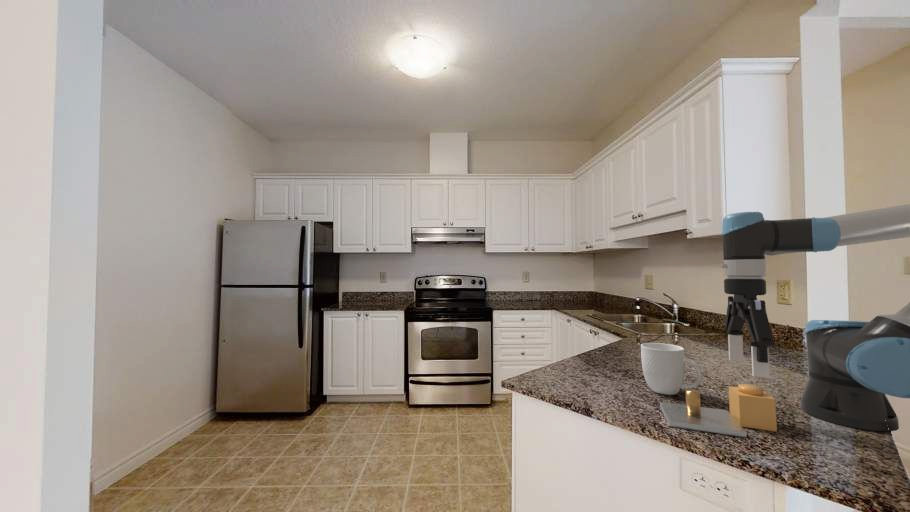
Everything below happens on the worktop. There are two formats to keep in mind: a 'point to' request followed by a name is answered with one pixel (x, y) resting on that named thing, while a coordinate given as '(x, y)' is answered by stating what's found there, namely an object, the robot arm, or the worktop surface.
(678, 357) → the mug
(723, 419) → the plate with brass peg
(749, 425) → the cube with dome top
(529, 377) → the worktop surface
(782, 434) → the worktop surface
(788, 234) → the robot arm
